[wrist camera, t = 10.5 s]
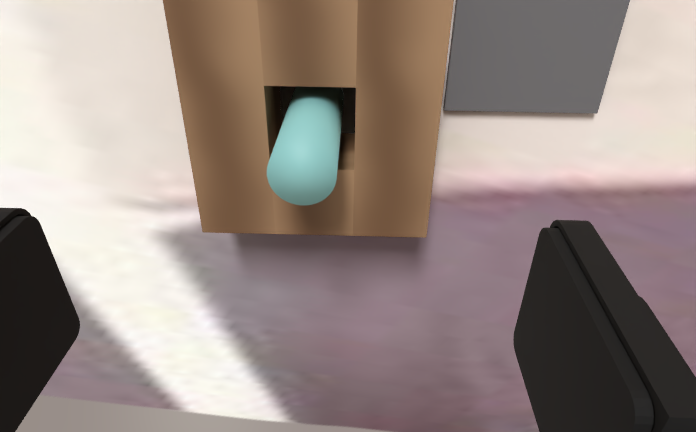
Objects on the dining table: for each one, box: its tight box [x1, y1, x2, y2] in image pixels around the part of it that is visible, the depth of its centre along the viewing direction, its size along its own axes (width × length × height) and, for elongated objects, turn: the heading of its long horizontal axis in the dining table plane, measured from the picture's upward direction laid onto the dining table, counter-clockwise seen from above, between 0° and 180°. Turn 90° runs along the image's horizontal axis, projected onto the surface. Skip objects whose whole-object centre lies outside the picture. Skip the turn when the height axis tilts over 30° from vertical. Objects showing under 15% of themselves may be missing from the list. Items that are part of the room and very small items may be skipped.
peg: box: [267, 86, 344, 205], centre depth 26 cm, size 3×3×10 cm
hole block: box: [163, 0, 454, 237], centre depth 28 cm, size 13×13×5 cm
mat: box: [443, 0, 630, 113], centre depth 28 cm, size 9×8×1 cm
